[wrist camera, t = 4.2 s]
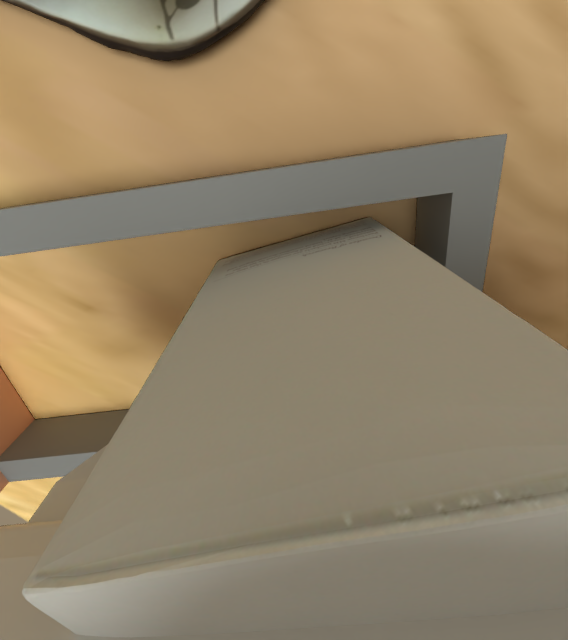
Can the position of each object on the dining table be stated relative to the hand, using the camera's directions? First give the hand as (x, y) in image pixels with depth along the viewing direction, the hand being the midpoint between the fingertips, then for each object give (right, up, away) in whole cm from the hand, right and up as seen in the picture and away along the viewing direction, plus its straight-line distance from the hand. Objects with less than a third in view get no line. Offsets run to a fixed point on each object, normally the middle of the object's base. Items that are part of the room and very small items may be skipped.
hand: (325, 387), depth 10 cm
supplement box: (0, +3, +6) cm, 6 cm away
